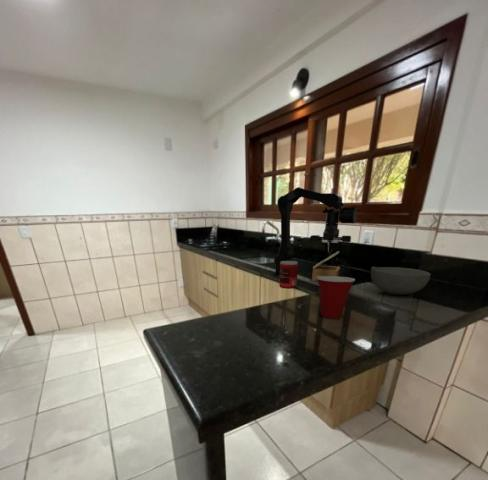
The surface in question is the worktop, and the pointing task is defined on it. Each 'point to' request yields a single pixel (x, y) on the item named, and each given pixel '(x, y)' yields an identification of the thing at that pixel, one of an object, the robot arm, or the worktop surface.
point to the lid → (326, 259)
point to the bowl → (399, 279)
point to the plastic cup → (333, 294)
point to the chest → (325, 271)
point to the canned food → (288, 274)
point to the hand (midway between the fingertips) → (328, 257)
